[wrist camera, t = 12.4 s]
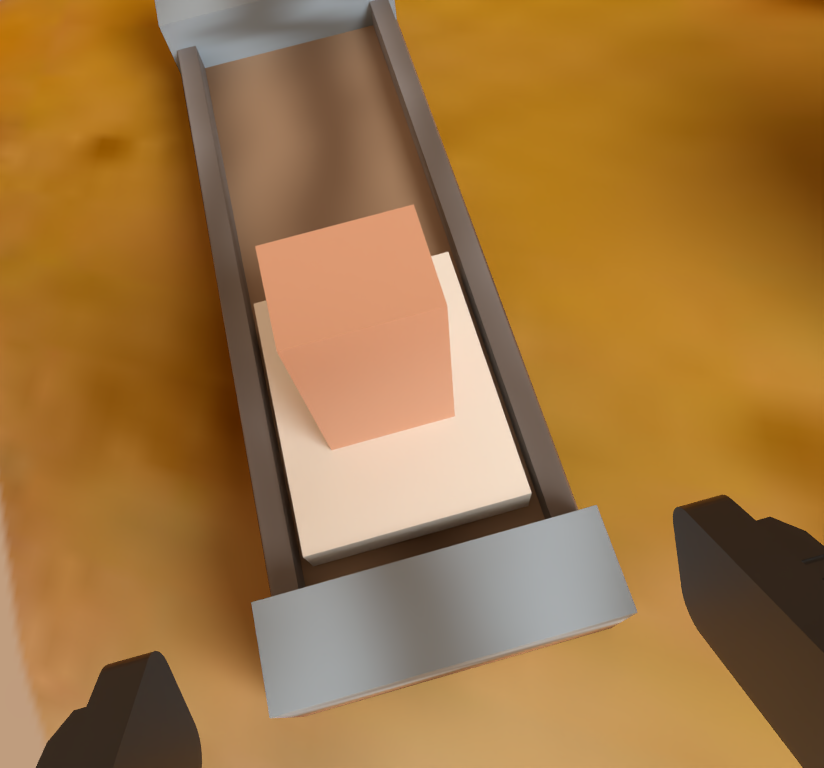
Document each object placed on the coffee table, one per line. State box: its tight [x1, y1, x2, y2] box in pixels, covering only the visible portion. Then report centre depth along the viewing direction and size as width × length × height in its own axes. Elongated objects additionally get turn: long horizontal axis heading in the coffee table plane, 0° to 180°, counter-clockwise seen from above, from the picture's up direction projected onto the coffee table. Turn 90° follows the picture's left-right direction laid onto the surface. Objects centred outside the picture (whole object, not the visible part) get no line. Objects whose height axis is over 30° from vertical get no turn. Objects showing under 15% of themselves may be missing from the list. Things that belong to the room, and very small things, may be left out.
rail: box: [155, 0, 637, 718], centre depth 27 cm, size 10×30×4 cm, turn 15°
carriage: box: [254, 204, 531, 566], centre depth 21 cm, size 7×9×8 cm
